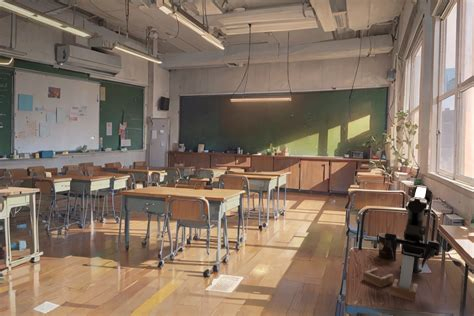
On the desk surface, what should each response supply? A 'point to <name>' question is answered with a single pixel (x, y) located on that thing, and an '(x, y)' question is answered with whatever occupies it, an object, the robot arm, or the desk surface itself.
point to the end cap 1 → (377, 278)
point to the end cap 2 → (403, 291)
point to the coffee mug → (384, 248)
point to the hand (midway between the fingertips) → (408, 264)
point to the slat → (406, 272)
